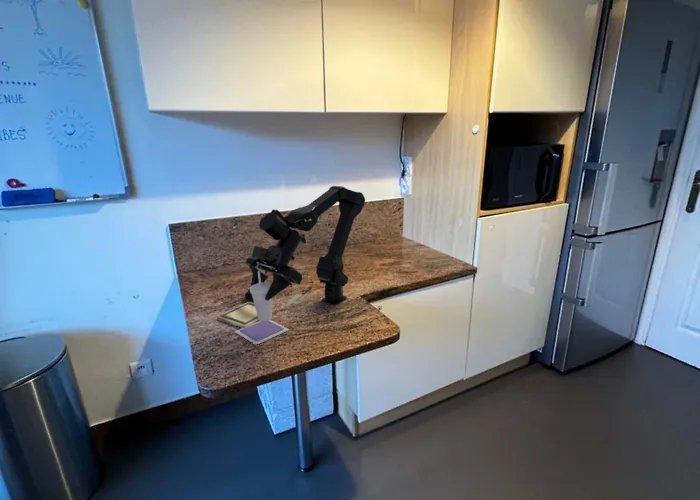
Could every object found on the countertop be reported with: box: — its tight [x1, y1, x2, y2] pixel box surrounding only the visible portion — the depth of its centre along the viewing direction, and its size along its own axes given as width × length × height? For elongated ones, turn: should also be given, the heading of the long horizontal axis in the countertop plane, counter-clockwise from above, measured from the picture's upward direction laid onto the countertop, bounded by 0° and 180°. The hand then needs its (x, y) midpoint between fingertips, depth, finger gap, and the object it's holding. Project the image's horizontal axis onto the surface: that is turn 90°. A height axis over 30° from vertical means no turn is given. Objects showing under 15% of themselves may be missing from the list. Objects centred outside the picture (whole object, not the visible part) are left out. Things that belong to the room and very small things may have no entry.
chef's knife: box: [286, 286, 313, 307], centre depth 130 cm, size 19×1×3 cm
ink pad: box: [234, 319, 290, 344], centre depth 106 cm, size 11×11×1 cm
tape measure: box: [244, 288, 253, 301], centre depth 130 cm, size 7×7×4 cm
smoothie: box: [249, 271, 273, 322], centre depth 101 cm, size 6×6×14 cm
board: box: [216, 301, 277, 329], centre depth 116 cm, size 13×13×1 cm
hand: (258, 297), depth 100 cm, fingers closed on smoothie, 6 cm apart
